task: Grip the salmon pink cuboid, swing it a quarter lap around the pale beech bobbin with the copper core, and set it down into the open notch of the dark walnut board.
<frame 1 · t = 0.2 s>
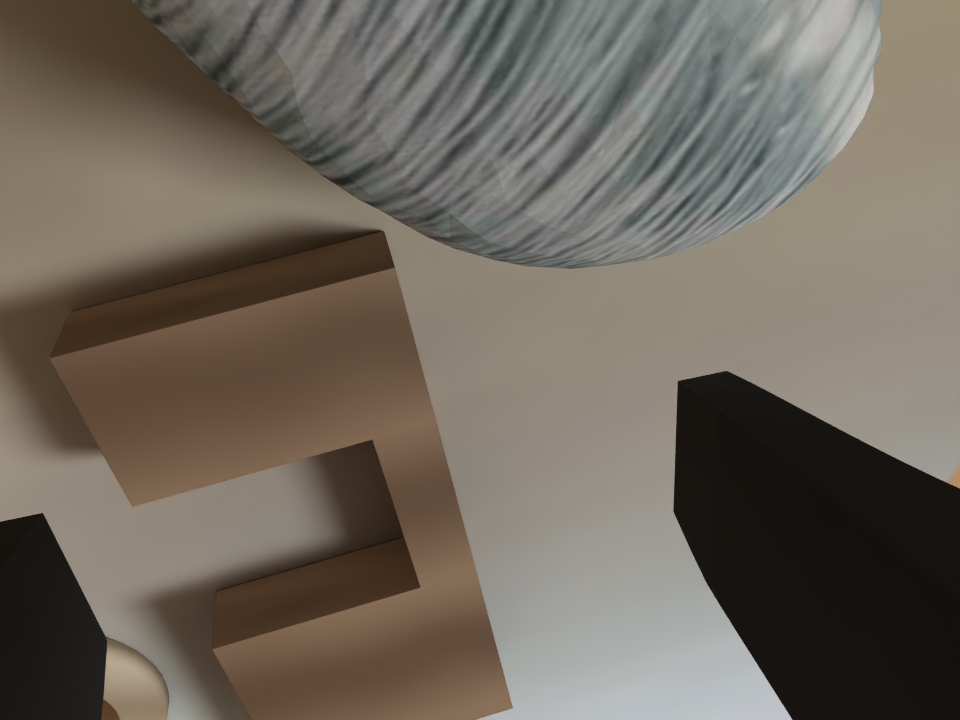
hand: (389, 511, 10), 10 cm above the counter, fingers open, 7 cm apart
bobbin: (57, 705, 24), on the counter
notched board: (325, 516, 22), on the counter
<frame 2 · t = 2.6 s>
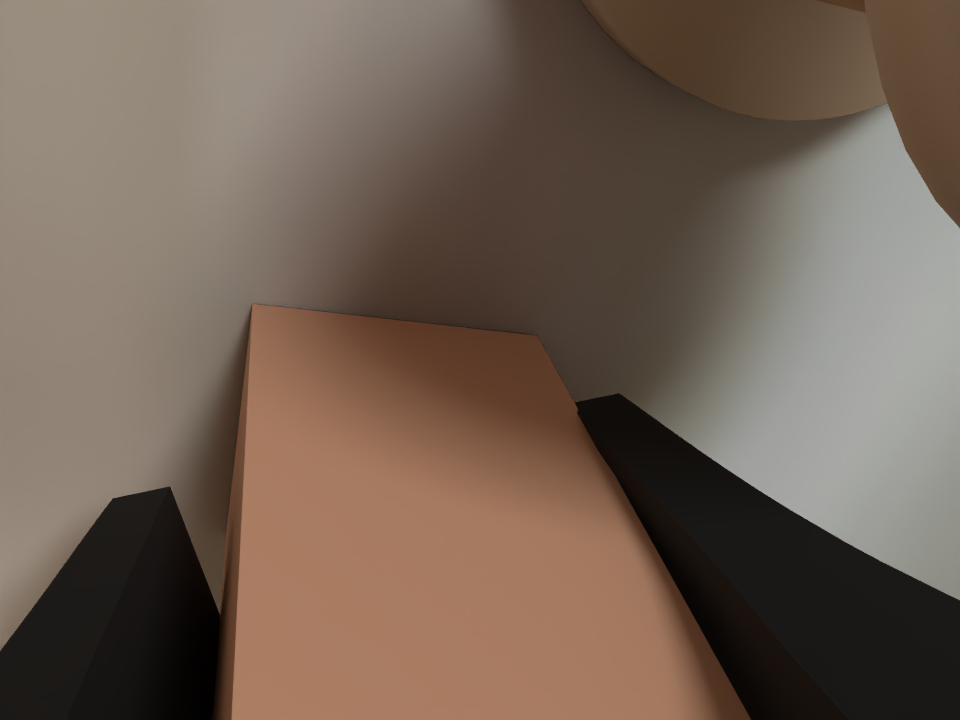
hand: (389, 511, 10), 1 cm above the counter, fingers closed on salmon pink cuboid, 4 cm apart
salmon pink cuboid: (377, 438, 11), on the counter, touching gripper
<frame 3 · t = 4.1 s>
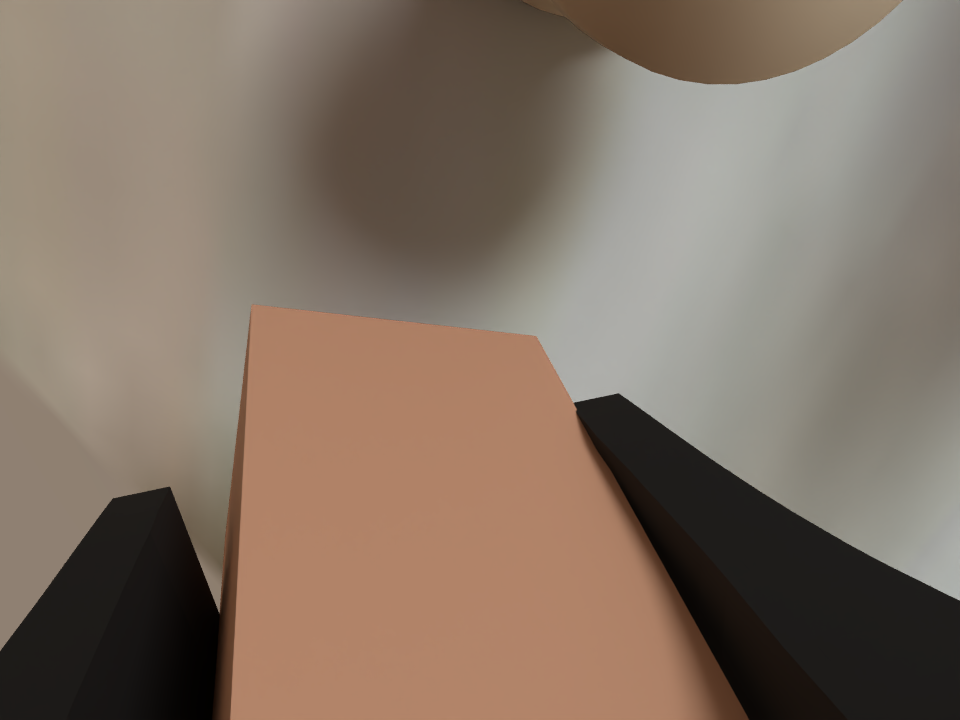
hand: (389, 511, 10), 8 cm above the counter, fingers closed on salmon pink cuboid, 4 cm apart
salmon pink cuboid: (376, 439, 11), point 7 cm above the counter, touching gripper
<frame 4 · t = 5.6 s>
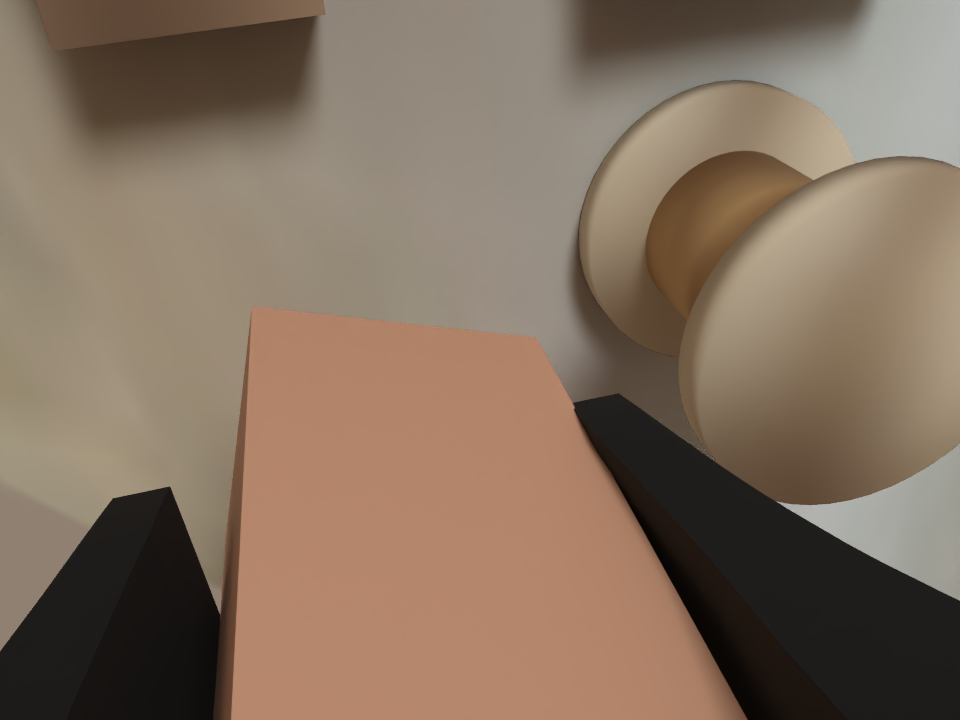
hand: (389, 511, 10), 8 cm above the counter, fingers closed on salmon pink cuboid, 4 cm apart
bobbin: (709, 221, 18), on the counter
salmon pink cuboid: (376, 440, 11), point 7 cm above the counter, touching gripper
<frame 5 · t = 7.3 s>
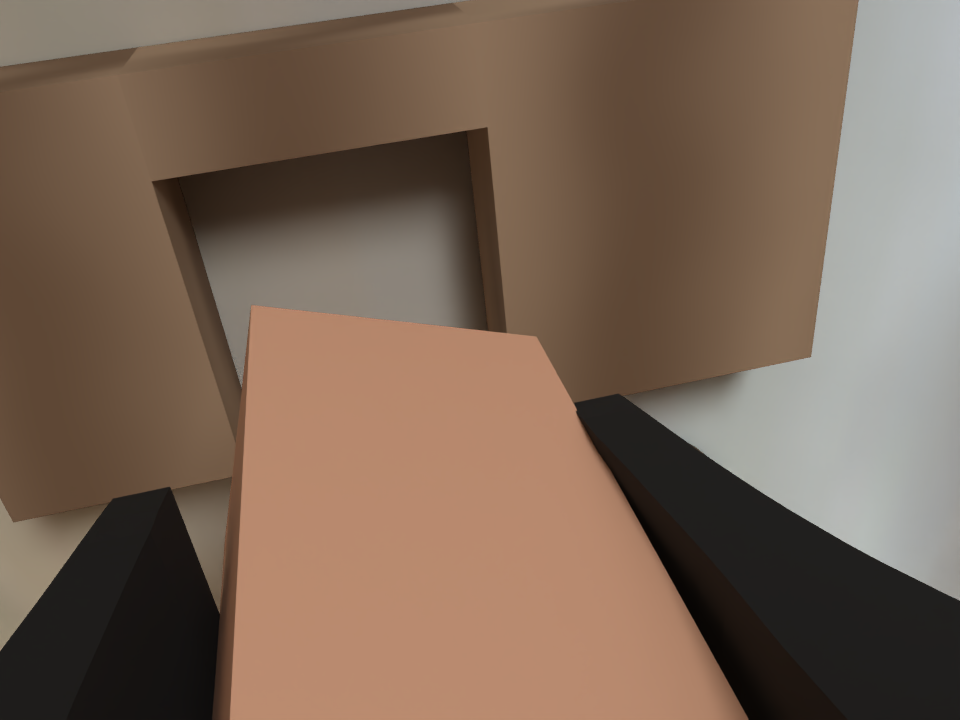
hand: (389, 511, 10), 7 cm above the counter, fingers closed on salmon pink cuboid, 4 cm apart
notched board: (394, 219, 15), on the counter
salmon pink cuboid: (376, 439, 11), point 6 cm above the counter, touching gripper
when the fingers open (3 cm above the counter, at t = 8.6 s): salmon pink cuboid drops 2 cm, on the counter.
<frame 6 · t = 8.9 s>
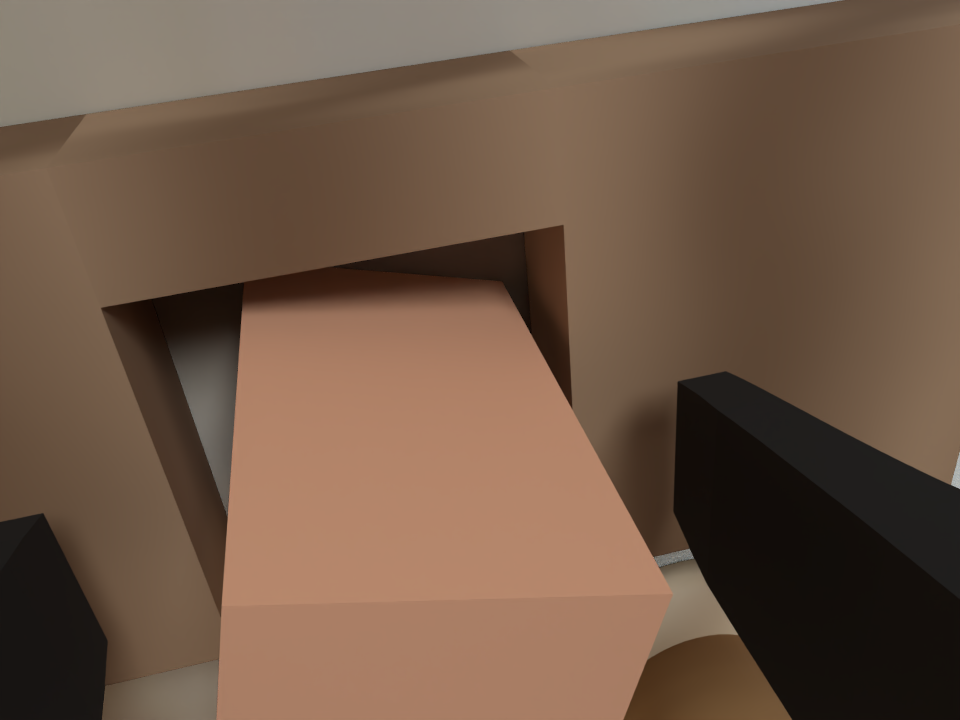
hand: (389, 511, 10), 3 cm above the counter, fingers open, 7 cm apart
bobbin: (676, 665, 17), on the counter
notched board: (427, 322, 12), on the counter
salmon pink cuboid: (364, 380, 12), on the counter
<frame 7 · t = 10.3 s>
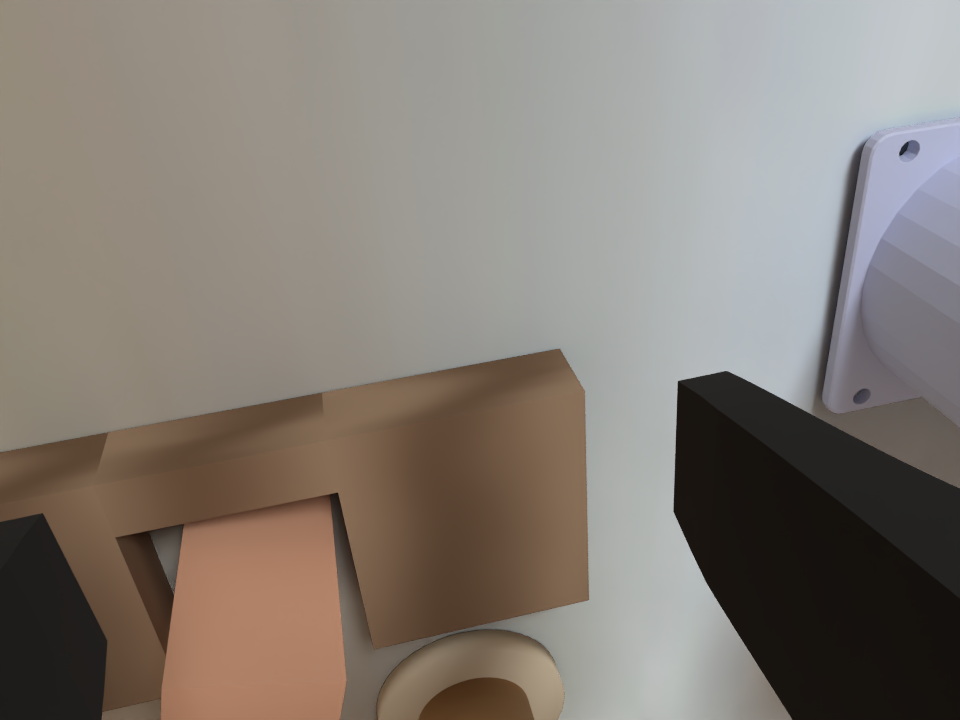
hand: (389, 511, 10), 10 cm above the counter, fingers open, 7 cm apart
bobbin: (468, 694, 27), on the counter
notched board: (289, 513, 22), on the counter
salmon pink cuboid: (256, 542, 22), on the counter
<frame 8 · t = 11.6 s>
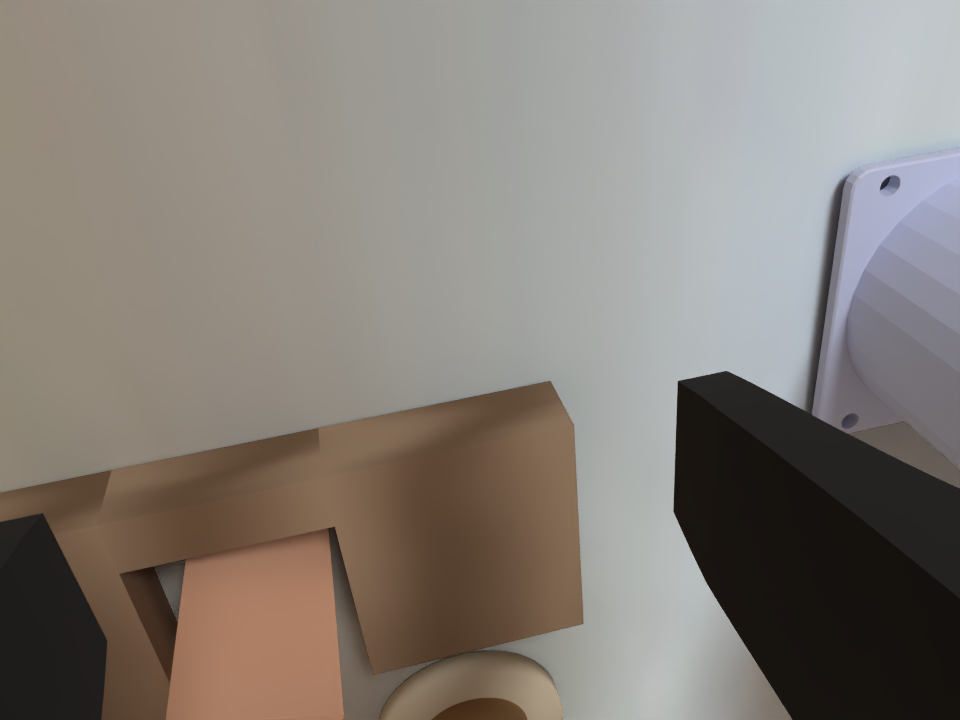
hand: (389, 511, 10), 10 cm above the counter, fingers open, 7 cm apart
bobbin: (469, 713, 28), on the counter
notched board: (288, 543, 22), on the counter
salmon pink cuboid: (257, 571, 23), on the counter
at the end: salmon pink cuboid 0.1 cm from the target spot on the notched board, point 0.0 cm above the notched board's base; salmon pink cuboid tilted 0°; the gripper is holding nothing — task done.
